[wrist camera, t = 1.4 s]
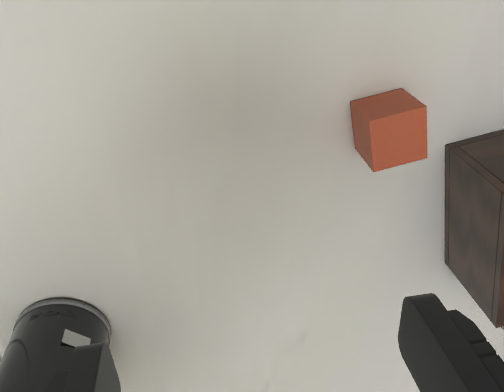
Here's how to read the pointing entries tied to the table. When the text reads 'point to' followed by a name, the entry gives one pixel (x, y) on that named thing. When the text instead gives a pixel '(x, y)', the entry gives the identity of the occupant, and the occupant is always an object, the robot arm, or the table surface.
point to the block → (389, 129)
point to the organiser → (477, 219)
